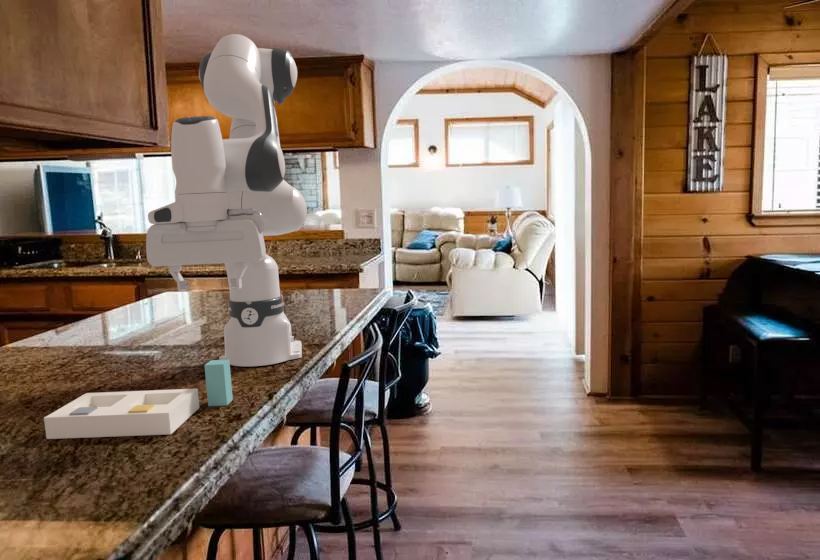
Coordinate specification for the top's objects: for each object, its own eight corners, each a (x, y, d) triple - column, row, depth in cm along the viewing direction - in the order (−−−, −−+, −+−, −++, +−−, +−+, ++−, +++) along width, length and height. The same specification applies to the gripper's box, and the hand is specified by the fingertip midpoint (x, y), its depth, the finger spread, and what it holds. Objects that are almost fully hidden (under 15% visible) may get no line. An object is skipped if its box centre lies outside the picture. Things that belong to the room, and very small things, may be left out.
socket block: (88, 412, 118) (86, 391, 117) (199, 407, 117) (197, 386, 117) (46, 439, 105) (43, 415, 105) (170, 434, 104) (168, 411, 104)
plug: (214, 400, 121) (210, 360, 120) (232, 399, 121) (229, 359, 120) (208, 406, 118) (204, 365, 117) (227, 405, 118) (223, 364, 117)
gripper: (267, 207, 118) (272, 284, 120) (153, 213, 119) (161, 289, 120) (257, 208, 112) (264, 289, 113) (138, 214, 112) (146, 294, 114)
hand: (210, 289), depth 117 cm, fingers open, 8 cm apart
